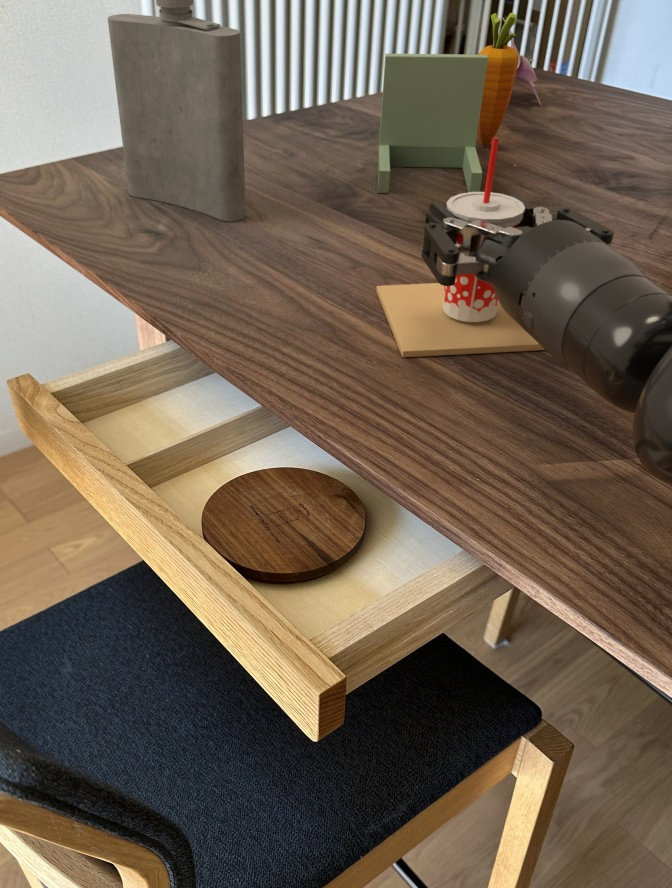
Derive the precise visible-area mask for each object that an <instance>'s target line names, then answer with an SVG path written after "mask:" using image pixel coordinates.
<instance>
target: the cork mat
mask: <svg viewBox="0 0 672 888" xmlns="http://www.w3.org/2000/svg"><path fill="white" fill-rule="evenodd" d="M375 292H376V294H377V297H378V299H379V302H380V305H381V307H382V309H383V312H384V315H385V318H386V320H387V322H388V325H389V327H390V330H391V332H392V336H393V337H394V340H395V342H396V345H397V348H398V350H399V353H400V355H401V357H402V358H417V357H436V356H455V355H458V356H459V355H475V354H476V355H477V354H496V353H513V352H532V351H533V352H535V351H546V350H545V349H544V348H543V347H542V346H541V345H540V344H539V343H538V342H537V341H536V340H535V339H534V338H532V337H531V336H530V335H529V334H528V333H527V332H526V331H525V330H524V329H523V328H522V327H521V326H520V325H519V324H518V323H517V322H516V321H515V320H514V319H513V318H511V317H510V316H509V315H508V314H507V313H506V312H505V311H504V309H503V308H502V306H501V304H500V302H499V306H498V310H497V313H496V315H495V317H493V318H491V319H489V320H487V321H481V322H466V321H460V320H456V319H454V318H452V317H449V316H448V315H447V314H446V313H445V312H444V310H443V296H444V286H443V285H441V284H439V282H431V283H410V284H388V285H387V284H386V285H377V286H376V289H375Z"/></svg>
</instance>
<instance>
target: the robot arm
mask: <svg viewBox="0 0 672 888" xmlns="http://www.w3.org/2000/svg"><path fill="white" fill-rule="evenodd" d="M506 195H507V196H511V197H514V198H516V199H517V200H519V201H521V202H522V203H523V204H524V206H525V212H524V213H523V219H522V220H521V222H520V223H519V224H518V228H513V227H506V228H503V227H500V226H497V225H494V224H491V223H488V222H485V221H482V220H476V221H473V222H471V223H468V222H465V221H462V220H459V219H457V217H456V216H455V215H454V214H453V213H451V212H450V211H449V210H448V209H447V206H445V205H443V203H441V202H433V203H430V204H429V207H428V209H426V211H425V212H426V213H425V221H424V227H423V232H424V233H423V242H422V243H423V244H422V249H421V259H422V260H423V261H424V263H425V264H426V266H427V268H428V269H429V270H430V272H431V274H432V275H433V277H434V278H435V280H436V281H437V283H439V284H441V285H443V286H452V285H454V284H455V280H456V277H457V275H465V274H475V276H476V277H477V278H478V279H479V280H481V281H484V282H487V283H489V284H491V285H492V286H493V288H494V290H495V293H496V295H497V298H498V300H499V302H500V304H501V306H502V308H503V309H504V311H505V312H506V313H507V314H508V315H509V316H510V317H511V318H513V319H514V320H515V321H516V322H517V323H518V324H519V325H520V326H521V327H522V328H523V329H524V330H525V331H526V332H527V333H528V334H529V335H530V336H531V337H532V338H534V339H535V340H536V341H537V342H538V343H539V344H540V345H541V346H542V347H543V348H544V349H545V350H544V351H546V352H547V354H549V355H550V356H552V357H553V358H554V359H555V360H557V361H559V362H560V363H561V364H564V365H565V366H567V367H568V368H569V369H571V370H572V371H573V372H574V373H575V374H576V375H577V376H578V377H579V378H580V379H581V380H582V381H583V382H584V383H585V384H586V385H587V386H589V387H590V388H591V389H592V390H593V391H594V393H596V394H597V395H598V396H599V397H600V398H602V399H603V400H605V401H606V402H607V403H609V404H611V405H612V406H615V407H616V408H618V409H620V410H623V411H625V412H628V413H632V414H633V423H632V440H633V446H634V451H635V453H636V455H637V457H638V460H639V462H640V463H641V465H642V466H643V468H644V469H645V470H646V471H647V472H648V473H649V474H650V475H652V476H653V477H655V478H656V479H657V480H659V481H661V482H664V483H666V484H670V485H672V293H670V292H669V291H667V290H666V289H665V288H663V287H662V286H660V285H658V284H657V283H656V282H655V281H653V280H652V279H651V278H650V277H648V275H647V274H646V273H645V272H644V271H643V270H642V269H641V268H640V267H639V266H638V265H637V264H636V263H635V262H633V261H632V260H631V259H629V258H628V257H626V256H625V255H623V254H622V253H621V252H620V251H617V249H615V248H613V246H612V242H613V238H614V235H615V232H614V230H612V229H610V228H608V227H606V226H604V225H603V224H601V223H599V222H597V221H595V220H593V219H592V218H589V217H588V216H586V215H584V214H582V213H581V212H578V211H576V210H575V209H573V208H570V207H567V206H565V207H559V208H558V209H557V212H556V213H550V209H548V208H547V207H544V206H535V205H533V204H532V203H530V202H529V201H528V200H525V199H524V198H522V197H521V196H520V195H518V194H516V193H513V194H506ZM458 233H460V234H462V236H463V244H462V246H461V245H460V244H456V243H457V235H458ZM481 235H483V236H485V238H484V239H483V241H482V243H481V245H480V239H481ZM479 245H480V247H479Z"/></svg>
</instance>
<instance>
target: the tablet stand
mask: <svg viewBox="0 0 672 888" xmlns="http://www.w3.org/2000/svg"><path fill="white" fill-rule="evenodd" d="M487 61H488V56H487V55H478V54H468V53H467V54H455V53H444V54H443V53H385V55H384V65H383V66H384V67H383V78H382V79H383V80H382V95H381V107H380V108H381V110H380V122H379V123H380V124H379V136H378V151H377V194H389V191H390V190H389V189H390V180H391V179H390V178H391V167H400V168H401V167H402V168H445V169H446V168H448V169H453V168H455V169H459V168H460V169H462V172H463V176H464V181H465V184H466V189H467V193H468V192H481V187H482V179H483V169H482V166H481V163H480V159H479V155H478V151H477V148H476V144H477V138H478V135H477V131H478V124H479V117H480V110H481V103H482V96H483V89H484V82H485V75H486V68H487Z"/></svg>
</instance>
